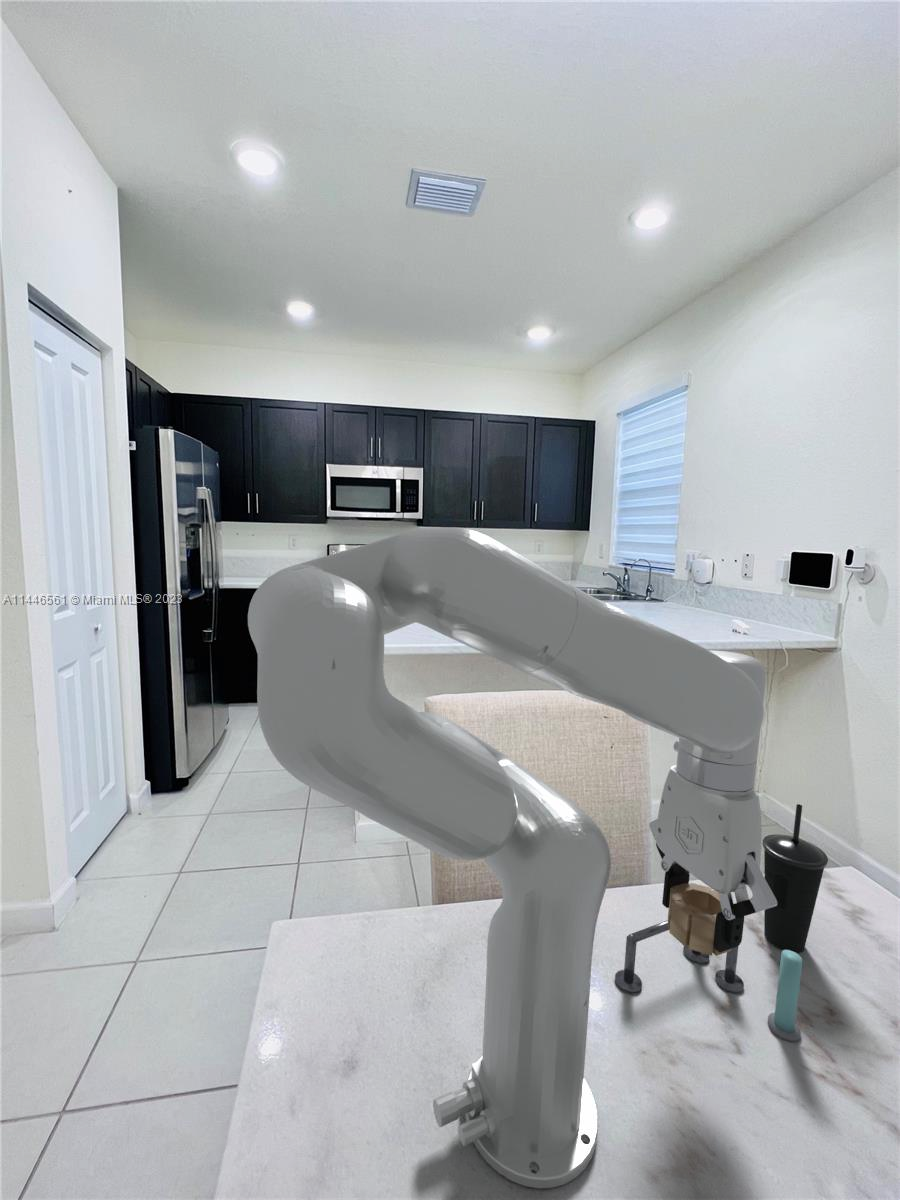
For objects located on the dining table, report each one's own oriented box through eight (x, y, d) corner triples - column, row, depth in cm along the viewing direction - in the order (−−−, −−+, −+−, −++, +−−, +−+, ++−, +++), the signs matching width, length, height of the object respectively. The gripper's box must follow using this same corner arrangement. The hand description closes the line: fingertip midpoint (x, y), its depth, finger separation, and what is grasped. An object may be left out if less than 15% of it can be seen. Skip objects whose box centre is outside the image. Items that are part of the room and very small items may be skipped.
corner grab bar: (659, 1031, 60) (664, 979, 60) (609, 977, 68) (612, 929, 67) (749, 988, 67) (754, 940, 66) (694, 943, 74) (698, 899, 74)
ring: (701, 961, 55) (704, 928, 54) (655, 919, 61) (657, 890, 60) (745, 945, 57) (749, 914, 57) (697, 907, 63) (700, 878, 63)
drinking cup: (827, 966, 71) (845, 823, 69) (764, 955, 72) (779, 815, 70) (802, 926, 78) (817, 796, 76) (745, 917, 80) (758, 789, 78)
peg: (788, 1046, 59) (797, 971, 58) (761, 1022, 62) (769, 950, 61) (806, 1035, 61) (815, 962, 60) (779, 1012, 64) (786, 942, 63)
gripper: (630, 742, 63) (618, 884, 65) (765, 811, 48) (744, 997, 49) (678, 736, 66) (666, 872, 68) (820, 799, 51) (799, 975, 52)
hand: (699, 923), depth 59 cm, fingers closed on ring, 6 cm apart
